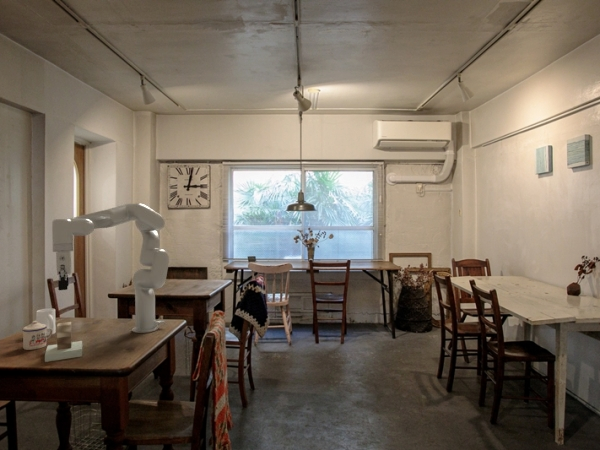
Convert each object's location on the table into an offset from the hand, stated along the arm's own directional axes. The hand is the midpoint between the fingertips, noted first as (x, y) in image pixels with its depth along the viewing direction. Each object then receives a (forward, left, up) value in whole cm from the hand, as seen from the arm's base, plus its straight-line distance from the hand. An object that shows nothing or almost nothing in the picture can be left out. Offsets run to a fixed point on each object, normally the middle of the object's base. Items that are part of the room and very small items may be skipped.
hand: (63, 288), depth 164 cm
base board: (0, 0, -28) cm, 28 cm away
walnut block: (0, 0, -25) cm, 25 cm away
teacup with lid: (+11, -19, -28) cm, 36 cm away
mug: (+9, -38, -28) cm, 48 cm away
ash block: (0, 0, -20) cm, 20 cm away
